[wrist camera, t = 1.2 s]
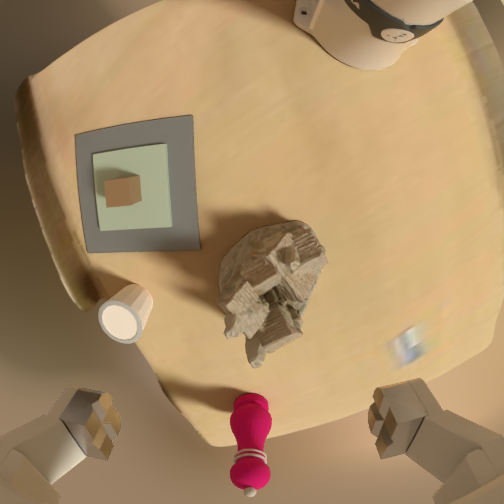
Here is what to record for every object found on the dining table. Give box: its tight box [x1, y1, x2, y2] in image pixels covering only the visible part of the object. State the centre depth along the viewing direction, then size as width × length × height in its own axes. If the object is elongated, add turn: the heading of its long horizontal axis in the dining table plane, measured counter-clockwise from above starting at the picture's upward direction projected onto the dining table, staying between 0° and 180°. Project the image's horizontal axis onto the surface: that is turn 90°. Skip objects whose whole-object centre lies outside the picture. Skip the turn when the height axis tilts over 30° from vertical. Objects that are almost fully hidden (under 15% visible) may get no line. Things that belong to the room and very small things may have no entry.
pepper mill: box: [230, 393, 272, 497], centre depth 40 cm, size 7×7×20 cm
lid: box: [93, 144, 173, 231], centre depth 35 cm, size 11×11×5 cm
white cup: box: [98, 284, 153, 344], centre depth 40 cm, size 7×7×7 cm
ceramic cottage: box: [216, 221, 328, 368], centre depth 35 cm, size 16×16×15 cm
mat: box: [76, 115, 200, 253], centre depth 37 cm, size 18×18×1 cm
